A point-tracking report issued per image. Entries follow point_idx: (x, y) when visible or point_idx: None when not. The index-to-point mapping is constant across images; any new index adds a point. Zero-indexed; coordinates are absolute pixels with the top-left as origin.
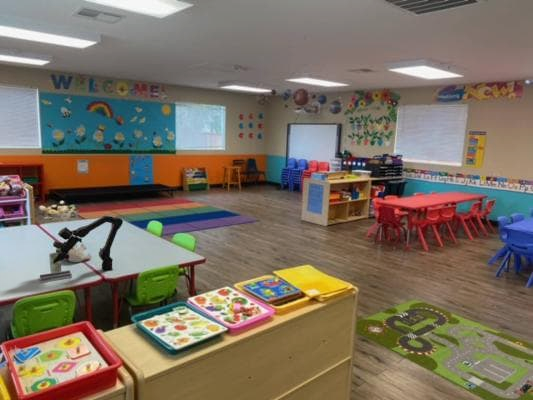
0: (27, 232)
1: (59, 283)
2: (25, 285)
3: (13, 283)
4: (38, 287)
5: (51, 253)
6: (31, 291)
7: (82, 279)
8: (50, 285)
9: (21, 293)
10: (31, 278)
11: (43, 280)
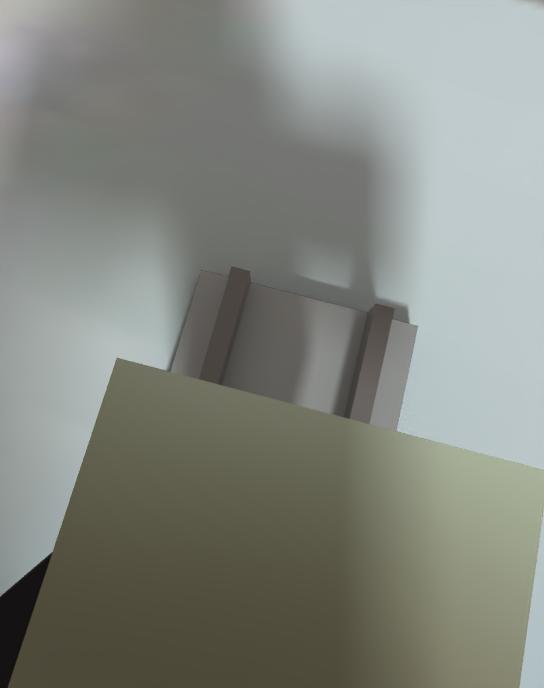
0: None
1: (3, 437)
2: (260, 113)
3: (422, 48)
4: (79, 189)
5: (452, 594)
6: (18, 91)
7: None
8: (28, 318)
9: (47, 4)
10: (460, 246)
11: (220, 299)
